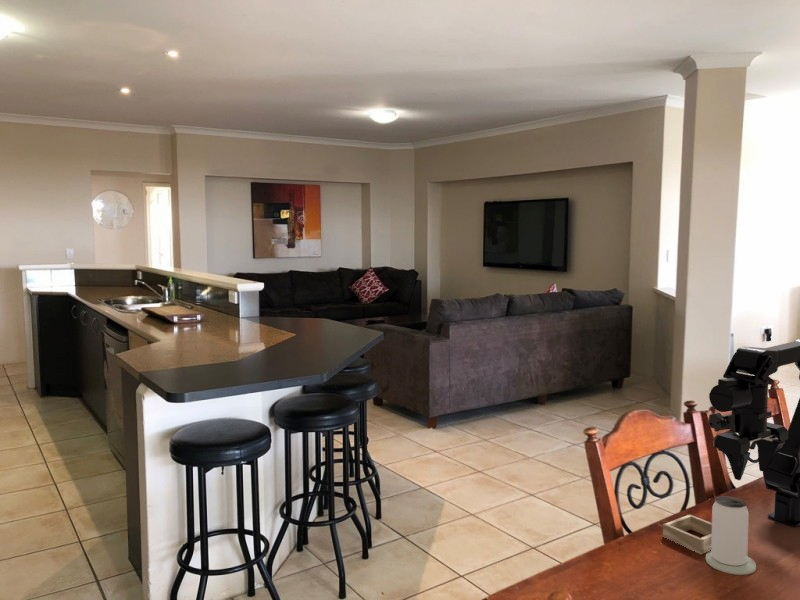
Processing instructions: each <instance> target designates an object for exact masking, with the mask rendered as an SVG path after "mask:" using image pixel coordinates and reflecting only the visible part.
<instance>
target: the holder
mask: <svg viewBox="0 0 800 600" xmlns="http://www.w3.org/2000/svg"><path fill="white" fill-rule="evenodd" d="M662 525H663V526H662V538H663V537H664V538H663V539H665V538H667V539H666V540H668V539H669V540H668V541H670V540H671V541H670V542H672V541H674V542H675V544H677V543H678V544H677V545H679V544H680V546H681V545H682V546H681V547H683V546H684V547H683V548H685V547H686V549H688V550H690V551H693V552H694V551H695V552H694V553H696V554H699V555H704V554H707V553H708V552H710V550H711V543H712V522H710V521H708V520H705V519H703V518H700V517H698V516H694V515H693V514H687V515H685V516H682V517H679V518H677V519H674V520H671V521H668V522H665V523H663V524H662ZM688 531H694V532H695V533H698V534H701V535H703V536H702V537H699V536H697V535H694V534H691V533H689V532H688ZM674 542H673V543H674Z"/></svg>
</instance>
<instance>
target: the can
mask: <svg viewBox="0 0 800 600" xmlns="http://www.w3.org/2000/svg"><path fill="white" fill-rule="evenodd" d="M711 509H712V513H711V523H712V543H711V555H712V557H713V558H714V559H715V560H716V561H717V562H719V563H721V564H724V565H728V566H742V565H744V564H745V563H746V562H747V556H748V550H749V549H748V547H749V544H748V543H749V509H748V508H747V502H746V501H745V500H743V499H741V498H738V497H735V496H729V495H727V496H726V495H721V496H717V497H715V498H714V503H713V504H712V508H711Z"/></svg>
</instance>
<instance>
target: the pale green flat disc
mask: <svg viewBox="0 0 800 600" xmlns="http://www.w3.org/2000/svg"><path fill="white" fill-rule="evenodd" d="M705 561H706V563H707V565H708V566H710V567H711V568H713V569H715V570H716V571H719V572H722V573H725V574H729V575H735V576H737V575H738V576H747V575H750V574H753V573H755V572H756V571H757V563H756V562H755V560H754V559H752V558H751V557H749V556H748V555H747V562H746V563H745V564H744V565H742V566H728V565H724V564H721V563H719V562H717V561H716V560H715V559H714V558H713V557H712V555H711V551H708V552H706V553H705Z"/></svg>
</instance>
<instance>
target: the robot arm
mask: <svg viewBox="0 0 800 600" xmlns="http://www.w3.org/2000/svg"><path fill="white" fill-rule="evenodd" d="M790 364H794V365H795V366H796V368H797V369H798V370H799V371H800V338H799V339H796V340H794V341H791V342H786V343H782V344H778V345H773V346H769V347H755V346H754V347H753V346H740V347H738V348H737V349H736V350H735V352H734V354H733V355H732V357H731V359H730V362H728V365H727V367H726V369H725V371H724V373H723V378H719V379H717V384H715V385H714V386H713V387H712V388H711V389H710V392H709V394H708V398H709V402H710V405H711V406H712V407H713V409H715V410H716V411H718V412H717V413H710V414H709V415H708V422H707V423H708V424H707V425H708V426H709V427H710V429H713V431H714V432H715V433H718V432H720V431H725V430H729V431H728V432H727V431H726V432H723V433H719V434H717V435H715V436H714V437H713V438H712V439H713V441H712V442H713V443H712V444H713V448H715V449H717V450H718V451H719V452H722V454H724V455H725V456H726V458H727V460H728V463H729V466H730V469H731V472H732V475H733V477H734V480H737V481H741V480H742V477H743V475H744V473H745V469H746V468H747V464H748V461H749V458H750V456H751V452H750V449H751V443H752V442H754V443H755V445H756V446H757V456H758V458H757V459H758V467H759V471H760V472H762V476H763V481H764V485H765V489H766V490H771V491H774V508H773V510H774V511H772V512H771V513H768V514H767V518H770V519H772V520H775V521H778V522H781V523H784V524H786V525H788V526H791V527H794V528H795V527H799V526H800V397H799V398H798V401H797V405H796V407H795V410H794V411H793V414H792V418H791V421H790V423H789V427H788V429H787V427H786V426H785V425H780V424H776V423H772V422H768V417H772V415H773V414H772V412H773V411H772V410H768V403H769V402H768V400H769V386H770V385H773V384H775V380H774V379H773V378H771V377H770V376H772V375H773V374H775V373H776V372H778V370H779V368H780V367H782V366H786V365H790ZM798 380H799V381H800V373H799V375H798ZM726 412H731V413H728V414H722V413H726Z"/></svg>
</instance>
